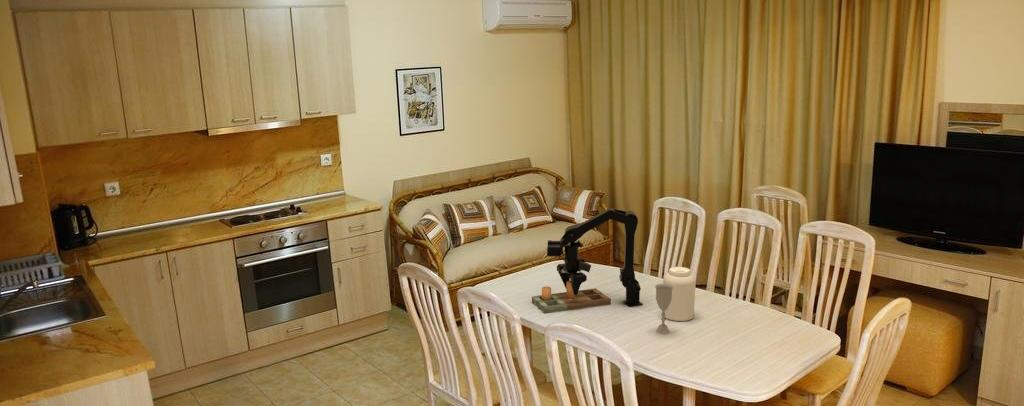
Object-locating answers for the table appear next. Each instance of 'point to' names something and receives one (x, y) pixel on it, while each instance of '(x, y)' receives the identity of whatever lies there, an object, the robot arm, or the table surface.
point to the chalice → (663, 303)
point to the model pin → (546, 293)
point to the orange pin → (569, 291)
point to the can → (680, 294)
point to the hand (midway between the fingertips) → (571, 291)
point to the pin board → (572, 301)
